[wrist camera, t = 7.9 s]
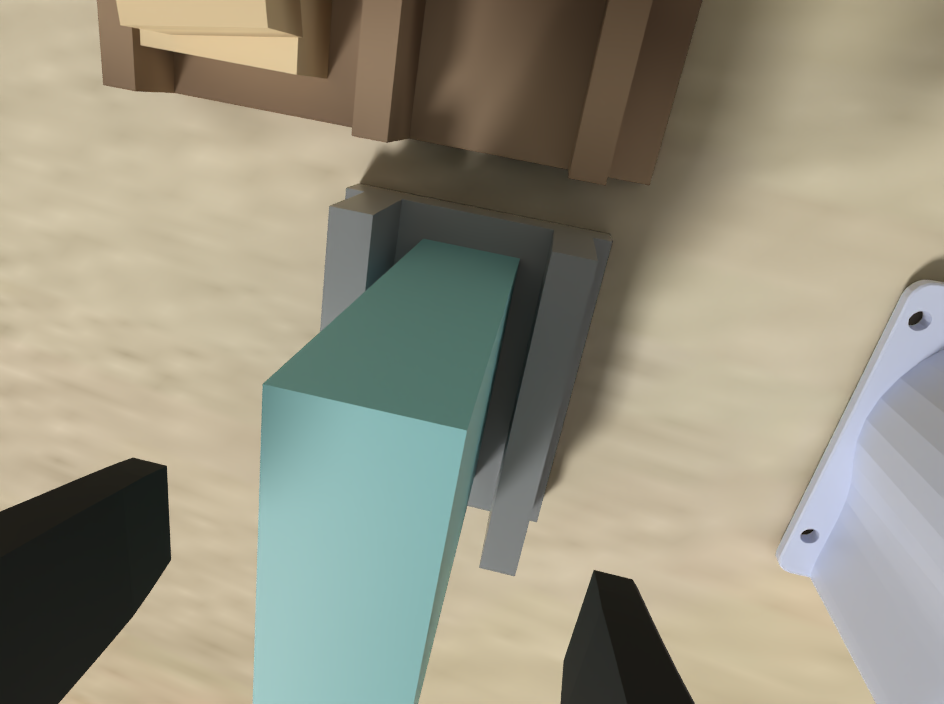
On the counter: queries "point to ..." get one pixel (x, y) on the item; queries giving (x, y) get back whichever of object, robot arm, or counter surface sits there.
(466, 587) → the counter surface
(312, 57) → the offcut low
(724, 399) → the counter surface
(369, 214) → the holder
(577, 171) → the rack
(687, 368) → the counter surface
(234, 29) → the offcut top
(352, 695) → the teal block
